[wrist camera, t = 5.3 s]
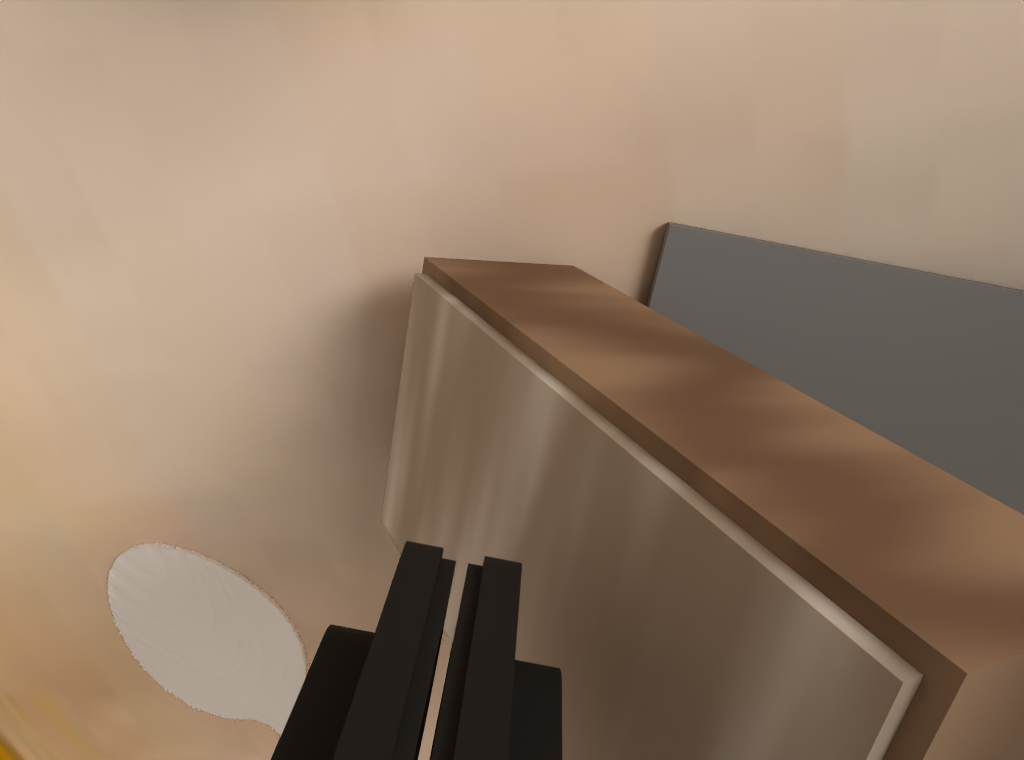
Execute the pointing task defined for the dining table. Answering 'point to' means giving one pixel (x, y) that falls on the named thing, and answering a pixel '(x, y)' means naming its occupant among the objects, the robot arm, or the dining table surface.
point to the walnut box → (699, 534)
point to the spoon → (207, 633)
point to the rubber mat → (865, 344)
